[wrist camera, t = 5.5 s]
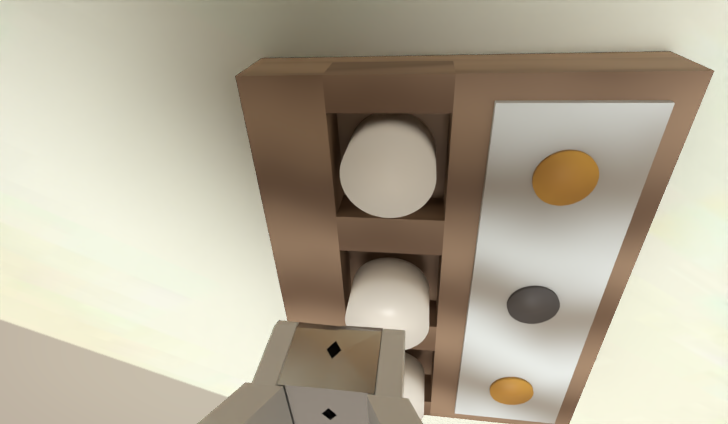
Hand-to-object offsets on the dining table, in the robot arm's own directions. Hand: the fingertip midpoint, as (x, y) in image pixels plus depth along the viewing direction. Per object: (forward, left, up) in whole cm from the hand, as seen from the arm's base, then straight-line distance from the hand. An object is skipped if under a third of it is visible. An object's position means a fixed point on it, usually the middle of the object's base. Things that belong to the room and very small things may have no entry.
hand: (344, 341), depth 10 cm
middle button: (+7, 0, -10) cm, 12 cm away
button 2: (0, 0, -11) cm, 11 cm away
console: (+7, +3, -12) cm, 15 cm away
